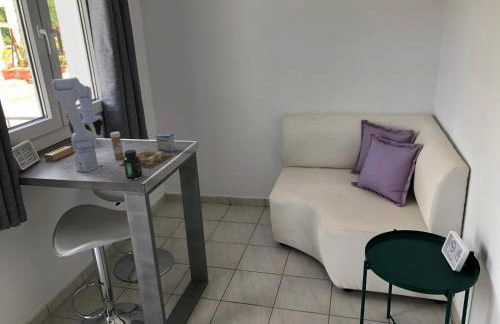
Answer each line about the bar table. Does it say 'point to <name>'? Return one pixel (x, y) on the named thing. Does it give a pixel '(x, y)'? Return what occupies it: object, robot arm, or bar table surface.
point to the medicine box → (165, 142)
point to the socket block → (151, 158)
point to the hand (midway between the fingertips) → (93, 137)
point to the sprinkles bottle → (117, 145)
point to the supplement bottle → (132, 164)
